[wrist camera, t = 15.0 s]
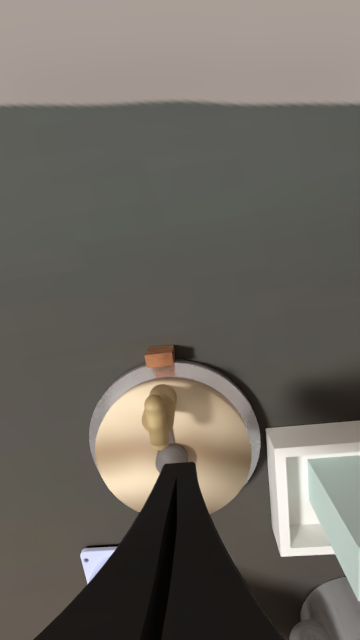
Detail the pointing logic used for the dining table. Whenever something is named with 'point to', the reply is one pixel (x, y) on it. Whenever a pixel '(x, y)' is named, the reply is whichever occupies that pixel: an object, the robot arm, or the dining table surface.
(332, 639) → the coffee mug
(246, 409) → the crank base
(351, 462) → the block
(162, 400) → the crank
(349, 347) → the dining table surface
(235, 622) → the robot arm
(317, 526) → the tray
